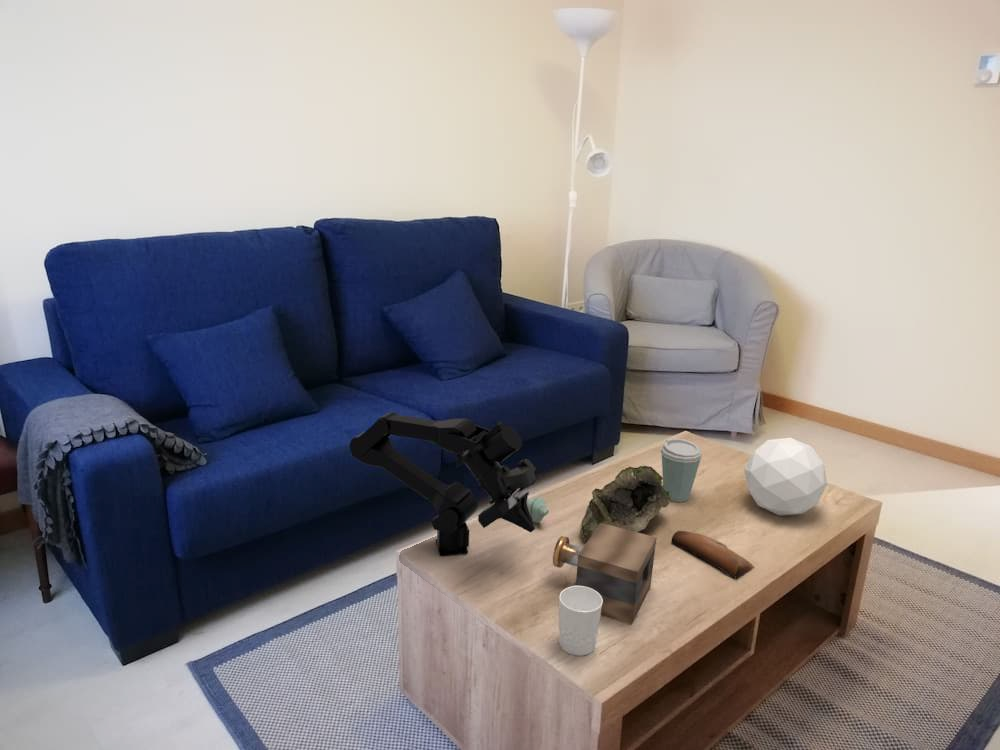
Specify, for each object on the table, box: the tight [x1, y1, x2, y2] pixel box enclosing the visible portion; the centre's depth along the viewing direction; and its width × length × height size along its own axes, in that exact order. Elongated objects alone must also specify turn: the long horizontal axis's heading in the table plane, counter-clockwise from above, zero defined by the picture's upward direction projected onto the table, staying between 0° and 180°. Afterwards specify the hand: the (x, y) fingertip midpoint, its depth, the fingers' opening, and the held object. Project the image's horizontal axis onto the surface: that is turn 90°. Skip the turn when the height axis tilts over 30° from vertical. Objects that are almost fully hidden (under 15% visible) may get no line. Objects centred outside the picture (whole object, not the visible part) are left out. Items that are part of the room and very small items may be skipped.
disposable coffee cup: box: [659, 437, 703, 503], centre depth 191 cm, size 11×11×15 cm
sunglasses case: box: [671, 530, 756, 580], centre depth 167 cm, size 18×7×7 cm
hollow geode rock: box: [580, 465, 671, 543], centre depth 177 cm, size 28×13×15 cm
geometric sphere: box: [743, 437, 828, 517], centre depth 186 cm, size 19×20×20 cm
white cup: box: [558, 585, 603, 657], centre depth 135 cm, size 8×8×10 cm
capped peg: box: [552, 535, 583, 569], centre depth 151 cm, size 12×6×6 cm, turn 65°
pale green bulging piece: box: [527, 495, 549, 524], centre depth 177 cm, size 8×4×7 cm, turn 43°
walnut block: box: [575, 523, 657, 626], centre depth 149 cm, size 12×14×12 cm
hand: (532, 530), depth 155 cm, fingers closed
